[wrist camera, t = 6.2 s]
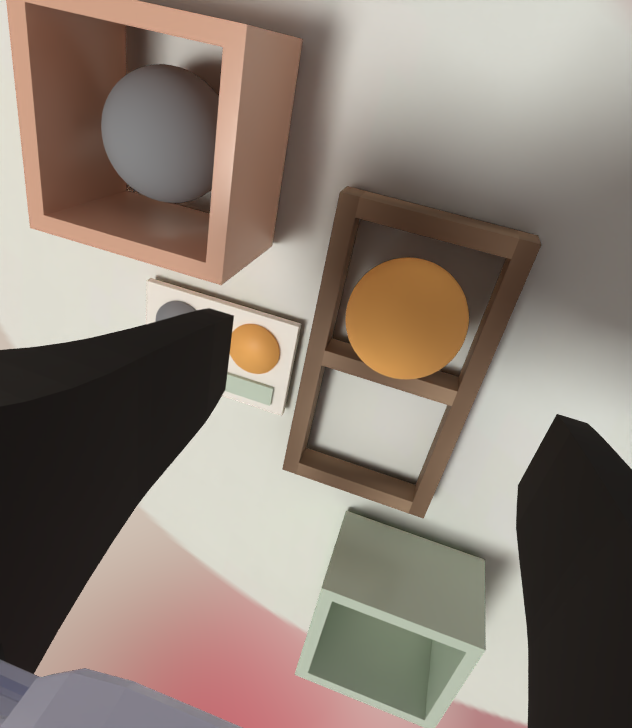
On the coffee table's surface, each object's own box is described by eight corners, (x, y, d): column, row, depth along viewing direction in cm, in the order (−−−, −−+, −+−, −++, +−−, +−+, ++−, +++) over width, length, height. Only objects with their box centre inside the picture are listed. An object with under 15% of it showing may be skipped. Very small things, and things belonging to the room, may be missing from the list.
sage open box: (484, 559, 21) (485, 650, 18) (439, 640, 24) (432, 730, 21) (346, 510, 22) (321, 587, 19) (319, 595, 25) (294, 674, 22)
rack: (538, 235, 15) (541, 244, 14) (425, 500, 21) (423, 518, 20) (347, 186, 16) (340, 191, 15) (290, 454, 21) (282, 469, 20)
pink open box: (302, 38, 14) (247, 24, 11) (272, 246, 17) (221, 285, 14) (110, -4, 15) (3, -30, 12) (114, 201, 18) (30, 227, 15)
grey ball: (257, 80, 15) (205, 79, 12) (244, 202, 17) (195, 228, 14) (145, 54, 15) (67, 47, 12) (144, 176, 17) (76, 197, 14)
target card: (301, 323, 18) (297, 328, 18) (284, 411, 20) (280, 417, 20) (151, 278, 19) (144, 281, 19) (149, 367, 21) (142, 372, 21)
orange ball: (486, 260, 16) (488, 303, 13) (449, 360, 17) (442, 418, 14) (373, 230, 16) (348, 264, 13) (348, 330, 18) (321, 379, 15)
